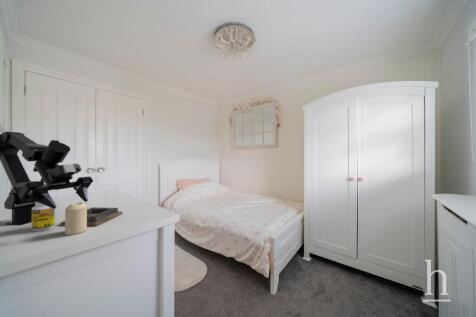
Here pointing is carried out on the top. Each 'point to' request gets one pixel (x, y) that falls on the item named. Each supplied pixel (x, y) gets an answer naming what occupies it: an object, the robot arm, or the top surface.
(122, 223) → the top surface
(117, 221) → the top surface
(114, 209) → the socket
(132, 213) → the top surface
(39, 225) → the supplement bottle
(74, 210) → the candle
